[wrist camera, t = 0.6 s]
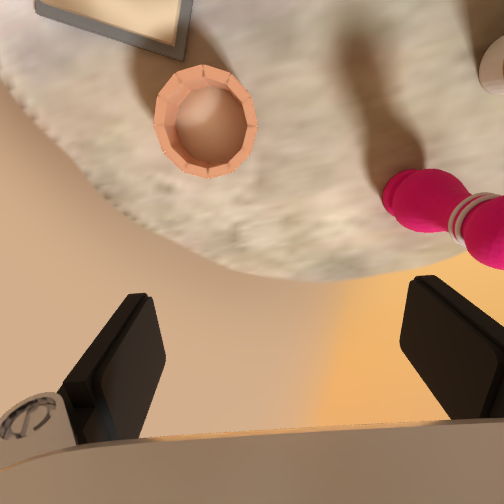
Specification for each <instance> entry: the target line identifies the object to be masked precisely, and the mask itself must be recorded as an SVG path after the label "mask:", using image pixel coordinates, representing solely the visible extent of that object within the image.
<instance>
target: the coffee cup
mask: <svg viewBox="0 0 504 504" xmlns="http://www.w3.org/2000/svg"><path fill="white" fill-rule="evenodd" d="M479 79H480V83H481V85H482V87H483V88H484V89H485V90H486V91H487V92H489V93H491V94H496V95H504V35H503V36H502V37H500V38H498V39H497V40H496V41H495V42H493V43H492V44H491V46H490V47H489V48H488V49H487V51H486V52H485V54H484V56H483V58H482V60H481V63H480V67H479Z"/></svg>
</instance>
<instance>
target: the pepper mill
mask: <svg viewBox="0 0 504 504" xmlns="http://www.w3.org/2000/svg"><path fill="white" fill-rule="evenodd" d="M383 204H384V207H385V209H386V210H387V211H388V212H389V213H390V214H391V215H393V216H395V218H396V219H397V221H398V222H399V223H400V224H401V225H402V226H404V227H406V228H408V229H411V230H413V231H416V232H424V233H433V232H441V231H446V232H449V234H450V236H451V238H452V239H453V240H454V241H455V242H456V243H458V244H459V245H462V246H463V247H465V248H467V250H468V252H469V253H470V254H471V255H472V256H473V257H474V258H475V259H476V260H477V261H479V262H480V263H482V264H485V265H487V266H489V267H492V268H495V269H501V270H504V196H502V195H496V194H493V193H488V192H482V193H477V194H474V195H472V194H470V193H469V192H468V191H467V189H466V188H465V187H464V185H463V184H462V182H460V181H459V180H458V179H457V178H456V177H455V176H453V175H452V174H450V173H447V172H445V171H442V170H439V169H424V170H415V169H409V170H405V171H402V172H400V173H398V174H396V175H395V176H394V177H392V178H391V180H390V181H389V182H388V183H387V185H386V187H385V189H384V192H383Z"/></svg>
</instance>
